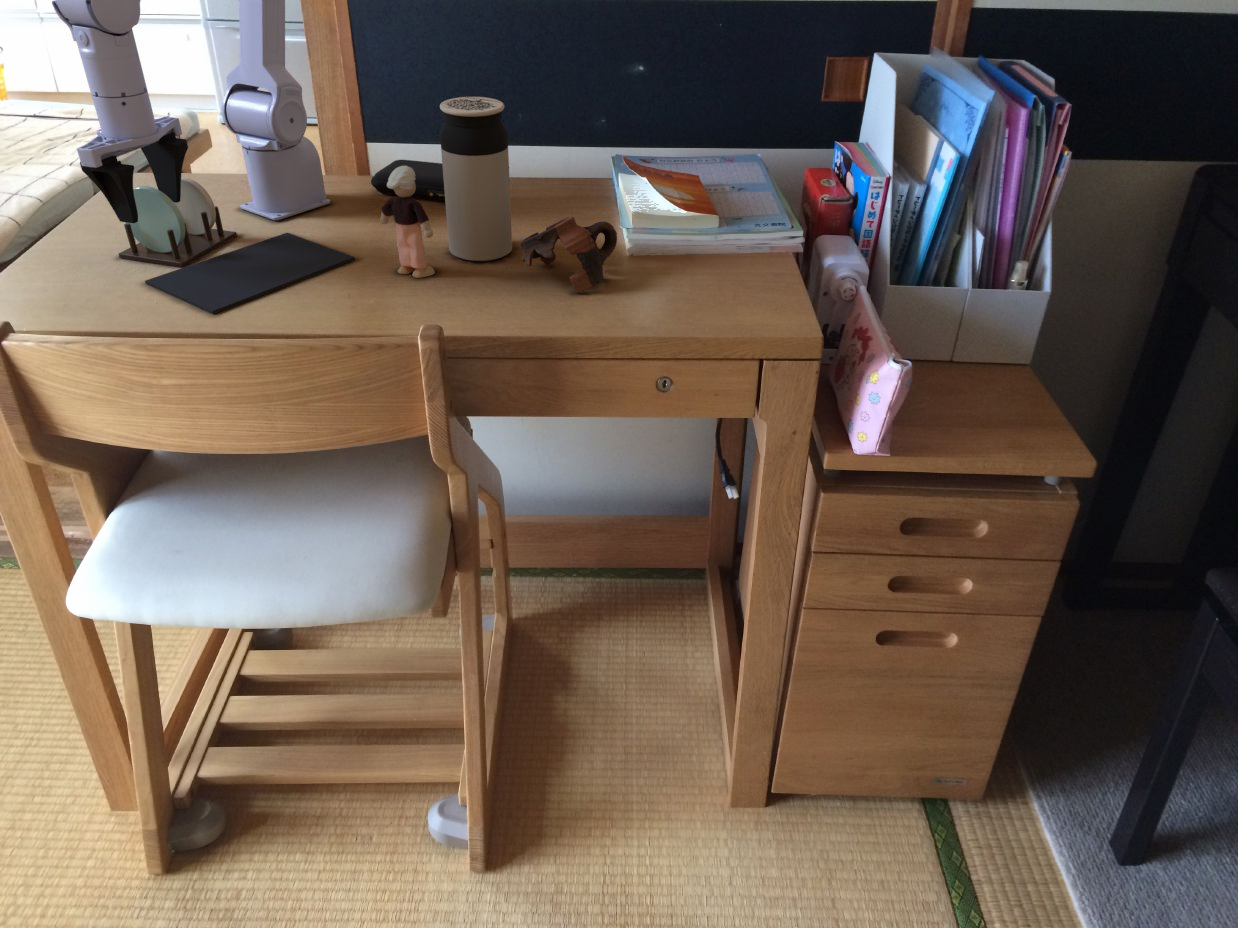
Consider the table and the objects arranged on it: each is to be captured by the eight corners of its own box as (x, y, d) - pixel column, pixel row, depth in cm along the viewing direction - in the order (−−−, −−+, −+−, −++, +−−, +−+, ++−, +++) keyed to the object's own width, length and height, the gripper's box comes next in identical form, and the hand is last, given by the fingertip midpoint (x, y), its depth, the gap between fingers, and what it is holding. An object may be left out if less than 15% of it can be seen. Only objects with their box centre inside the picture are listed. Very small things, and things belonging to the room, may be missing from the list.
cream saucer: (173, 229, 120) (159, 173, 116) (221, 236, 119) (209, 180, 115) (168, 231, 120) (154, 175, 116) (217, 238, 118) (204, 182, 114)
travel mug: (485, 268, 114) (477, 116, 104) (436, 253, 117) (423, 105, 107) (524, 248, 120) (520, 102, 109) (476, 235, 123) (467, 92, 113)
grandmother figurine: (448, 270, 113) (439, 165, 106) (433, 281, 110) (422, 175, 103) (392, 260, 115) (380, 157, 108) (376, 272, 112) (362, 166, 105)
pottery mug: (560, 306, 107) (528, 240, 104) (532, 310, 115) (501, 249, 113) (643, 260, 110) (613, 195, 108) (610, 268, 119) (582, 208, 117)
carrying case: (363, 197, 134) (459, 208, 131) (360, 176, 132) (458, 187, 130) (395, 175, 143) (486, 185, 140) (393, 155, 141) (484, 165, 138)
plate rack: (177, 228, 122) (169, 197, 120) (237, 236, 120) (230, 205, 118) (119, 258, 114) (109, 226, 111) (182, 267, 112) (174, 235, 109)
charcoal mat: (287, 235, 121) (287, 232, 121) (355, 260, 115) (354, 256, 115) (145, 283, 108) (144, 280, 107) (213, 314, 102) (212, 311, 101)
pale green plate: (136, 246, 115) (118, 182, 111) (192, 254, 114) (176, 189, 109) (131, 248, 115) (113, 184, 110) (187, 257, 113) (171, 192, 108)
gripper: (133, 75, 110) (162, 189, 118) (39, 103, 99) (78, 227, 106) (185, 81, 109) (210, 195, 116) (95, 109, 97) (130, 234, 105)
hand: (150, 211), depth 111 cm, fingers open, 7 cm apart
